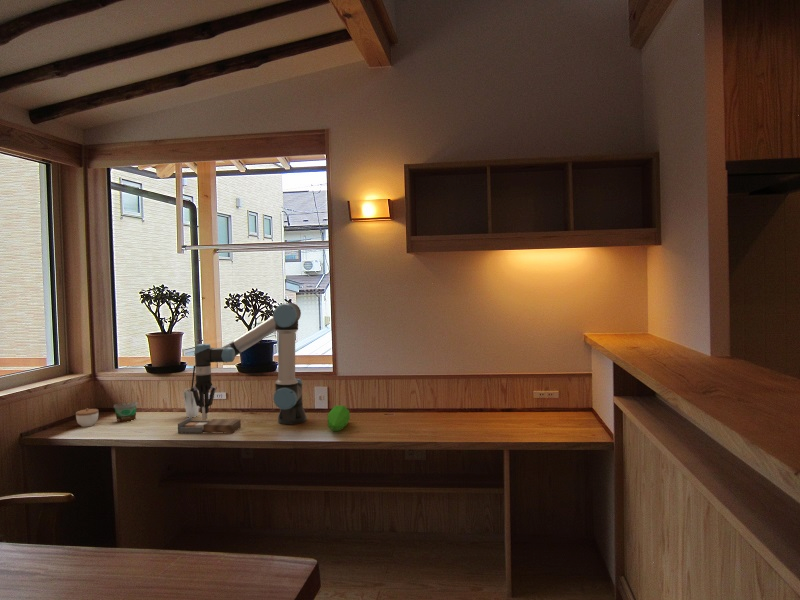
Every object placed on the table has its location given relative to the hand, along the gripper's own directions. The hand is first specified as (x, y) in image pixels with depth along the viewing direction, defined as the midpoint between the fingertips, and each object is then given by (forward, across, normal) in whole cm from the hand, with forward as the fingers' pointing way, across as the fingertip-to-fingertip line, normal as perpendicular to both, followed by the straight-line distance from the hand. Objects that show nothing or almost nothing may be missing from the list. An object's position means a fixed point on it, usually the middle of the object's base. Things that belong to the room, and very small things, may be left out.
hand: (204, 419), depth 277 cm
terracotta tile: (+2, -7, 0) cm, 8 cm away
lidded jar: (+6, -69, +7) cm, 70 cm away
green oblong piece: (+6, +69, +2) cm, 69 cm away
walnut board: (+6, +9, 0) cm, 11 cm away
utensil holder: (+6, -19, +26) cm, 33 cm away
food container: (+6, -52, +16) cm, 55 cm away
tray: (+6, -5, 0) cm, 7 cm away
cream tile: (+5, -2, 0) cm, 5 cm away
